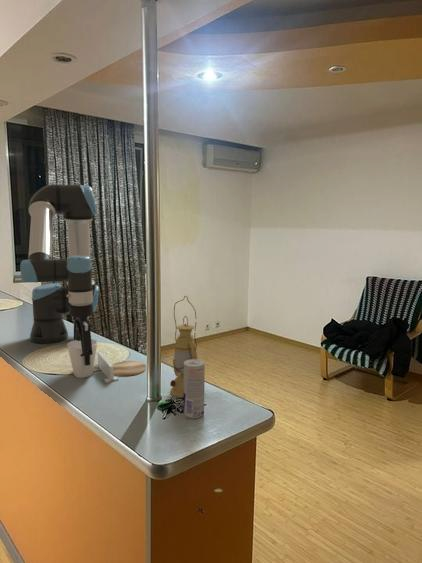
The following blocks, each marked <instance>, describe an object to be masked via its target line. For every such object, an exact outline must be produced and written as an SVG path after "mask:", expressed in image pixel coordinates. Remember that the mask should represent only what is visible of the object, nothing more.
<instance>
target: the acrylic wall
mask: <svg viewBox="0 0 422 563" xmlns="http://www.w3.org/2000/svg"><path fill="white" fill-rule="evenodd" d="M96 368H99V369H100V370H101V372H102V373H103V374H104V375H105V376H106V377H107V378H104V382H105V383H111V382H117V381H119V378H118V376H115V375H114V372H113V365H112V363H111V362H110V361H109V360H108V359H107V357H106V356H105V355H104V354H103V353H102V352H101V351H97V363H96V364H95V363H94V369H96Z"/></svg>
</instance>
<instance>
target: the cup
mask: <svg viewBox="0 0 422 563" xmlns="http://www.w3.org/2000/svg"><path fill="white" fill-rule="evenodd" d="M91 343H92V352H93V354H92V355H91V374H86V375H83V374H82V356H80V355H81V354H82V346H81V341H77V340H74V339H73V340H71V341H69V342H67V343H66V348H67V350H68V354H69V357H70V358H69V359H70V362H71V366H72V371H73V375H74V377H77V378H79V379H81V378H82V379H84V378H88V377H90V376H92V375H93V374H94V371H95V370H94V369H95V367H94V364H95V362H96V354H97V347H98V343H99V341H97V340H96V339H92V338H91ZM86 352H88V351H86Z"/></svg>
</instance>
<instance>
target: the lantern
mask: <svg viewBox="0 0 422 563" xmlns="http://www.w3.org/2000/svg"><path fill="white" fill-rule="evenodd" d="M185 298H186V300H187V302H188V303H189V304H190V305H191V306H192V308H193V310H194V314H195V318H197V312H196V309H195V307H194V306H193V303H191V302H190V301H189V298H188V296H187V295H184V296H183V299H180V300H178V301H177V302H175V304H174V307H173V318H174V322H175V325H176V326H175V329H176V330H178V332H179V335H177V332H175V335H174V337H175V338H174V340H175V346H174V347H175V348H174V354H173V355H174V357H173V362H172V363H173V365H172V366H173V372H174V375H175V376H176V377H175V378H174V379H172V380H171V381H170V387H171V388H170V392H169V393H170V394H171V395H172V396H173V395H174V397H176V396H177V397H176V398H180V397H184V362H185V361H186V360H190V359H198V358H199V357H198V352H197V348H198V347H197V339H196V334H194V335H192V332H193V331H192V330H196V328H197V323H195V325H191V324H189V320H188V317H187V316H186V315H185V316H184V317H183V318H182V322H183V324H179V325H177V322H176V320H177V319H176V317H175V316H176V315H175V310H176V304H177V303H179V302H181V301H184V300H185ZM185 318H186V320H187V323H185ZM198 360H199V359H198Z"/></svg>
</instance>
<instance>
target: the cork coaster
mask: <svg viewBox="0 0 422 563" xmlns="http://www.w3.org/2000/svg"><path fill="white" fill-rule="evenodd" d="M111 364H112V363H111ZM112 365H113V372H114V376H115V377H133V376H137V375H140V374H142V373H144V372H146V370H147V365H146V363H143V362H140V361H137V360H135V361H134V360H123V361H120V362H119V361H118V362H115V363H113V364H112Z"/></svg>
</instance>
